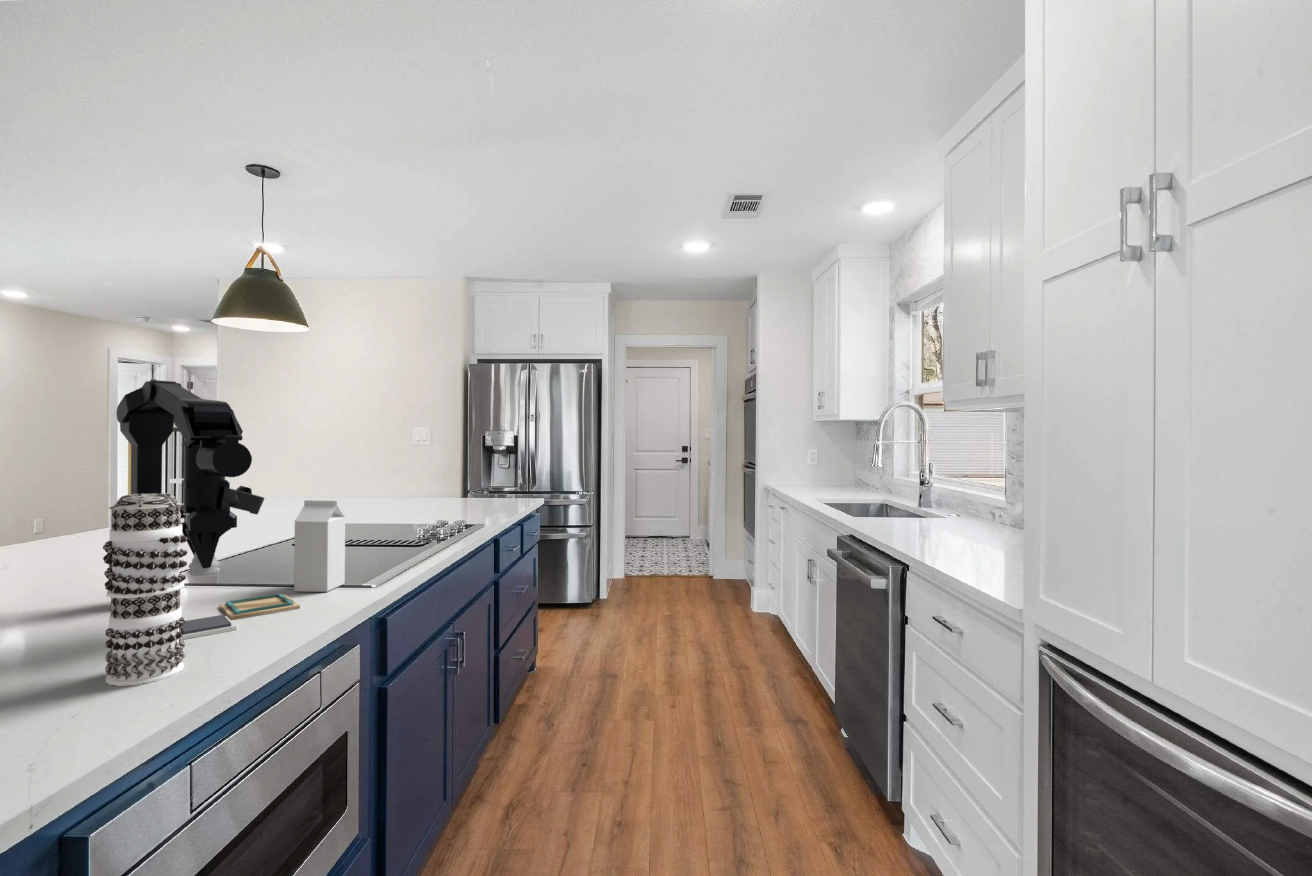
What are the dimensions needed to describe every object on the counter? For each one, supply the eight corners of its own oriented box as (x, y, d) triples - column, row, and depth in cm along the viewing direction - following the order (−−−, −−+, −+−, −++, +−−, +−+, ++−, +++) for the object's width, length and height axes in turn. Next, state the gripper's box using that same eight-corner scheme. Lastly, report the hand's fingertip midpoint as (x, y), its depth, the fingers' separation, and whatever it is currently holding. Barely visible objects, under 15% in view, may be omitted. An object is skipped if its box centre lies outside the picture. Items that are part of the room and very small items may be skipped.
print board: (219, 607, 118) (219, 601, 118) (284, 596, 126) (284, 591, 126) (231, 619, 110) (231, 613, 110) (299, 608, 118) (299, 602, 118)
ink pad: (170, 628, 105) (170, 622, 105) (226, 619, 110) (226, 613, 110) (177, 640, 99) (177, 633, 99) (236, 629, 105) (236, 623, 105)
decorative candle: (177, 656, 92) (178, 490, 92) (196, 672, 86) (197, 494, 86) (96, 674, 85) (97, 494, 85) (110, 693, 79) (111, 499, 79)
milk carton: (327, 592, 129) (327, 502, 129) (293, 592, 130) (294, 502, 129) (344, 584, 137) (345, 499, 136) (313, 583, 137) (314, 498, 137)
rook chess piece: (203, 577, 102) (203, 529, 102) (180, 575, 103) (181, 527, 103) (226, 571, 107) (227, 525, 107) (205, 569, 108) (205, 524, 107)
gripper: (273, 475, 104) (272, 568, 104) (248, 469, 117) (247, 551, 117) (191, 478, 96) (190, 578, 96) (174, 472, 109) (173, 559, 109)
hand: (204, 565), depth 105 cm, fingers closed on rook chess piece, 4 cm apart
